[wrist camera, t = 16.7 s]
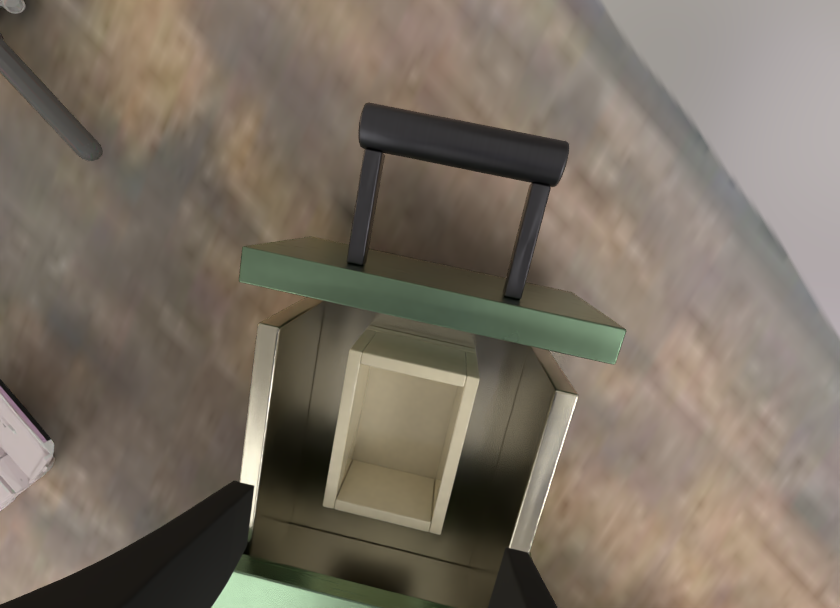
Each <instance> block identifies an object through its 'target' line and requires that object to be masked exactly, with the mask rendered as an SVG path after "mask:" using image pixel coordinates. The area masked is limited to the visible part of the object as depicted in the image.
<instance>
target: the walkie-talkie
mask: <svg viewBox="0 0 840 608" xmlns="http://www.w3.org/2000/svg"><path fill="white" fill-rule="evenodd" d="M0 8H4V9H6V10H7V11H8V12H11V13H13V14H17V13H21V12H22V11H23V10H24V9H25V3H24V1H23V0H0ZM0 72H1V74H2V75H3V76H4V77H5V78H6V79H7V80H8V81H9V82H10V83H11V84H12V85H13V86H14V87H15V88H16V90H17V91H18V92H19V93H20V94H21V95H22V96H23V97H24V98H25V99H26V100H27V101H28V102H29V103H30V104H31V106H32V107H33V108H34V109H35V110H36V111H37V112H38V113H39V114H40V115H41V116H42V117H43V118H44V119H45V120H46V122H47V123H48V124H49V125H50V126H51V127H52V128H53V129H54V130H55V131H56V132H57V133H58V134H59V135H60V136H61V138H62V139H63V140H64V141H65V142H66V143H67V144H68V145H69V146H70V147H71V148H72V149H73V150H74V151H75V152H76V154H77V155H78V156H79V157H81V158H82V159H85V160H88V161H94V160H97V159H99V158H100V157H101V155H102V148H101V145H100V144H99V143H98V142H97V141H96V140H95V139H94V138H93V137H92V135H91V134H90V133H89V132H88V131H87V130H86V129H85V128H84V127H83V126H82V125H81V124H80V123H79V121H78V120H77V119H76V118H75V117H74V116H73V115H72V114H71V113H70V112H69V111H68V110H67V109H66V107H65V106H64V105H63V104H62V103H61V102H60V101H59V100H58V99H57V98H56V97H55V96H54V95H53V93H52V92H51V91H50V90H49V89H48V88H47V87H46V86H45V85H44V84H43V83H42V82H41V81H40V79H39V78H38V77H37V76H36V75H35V74H34V73H33V72H32V71H31V70H30V69H29V68H28V67H27V66H26V64H25V63H24V62H23V61H22V60H21V59H20V58H19V57H18V56H17V55H16V54H15V53H14V52H13V50H12V49H11V48H10V47H9V46H8V45H7V44H6V43H5V42H4V41H3V37H2V34H1V33H0Z"/></svg>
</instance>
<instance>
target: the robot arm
mask: <svg viewBox="0 0 840 608" xmlns="http://www.w3.org/2000/svg"><path fill="white" fill-rule="evenodd" d="M253 494H254V485H249V484H245V483H241V482H237V481H233V482H231V483H230V484H228V485H226V486H225V487H223V488H222V489H220V490H218V491H217V492H215V493H214V494H212V495H211V496H209V497H208V498H206V499H205V500H203V501H202V502H200V503H198V504H197V505H195V506H194V507H192V508H191V509H189V510H188V511H186V512H184V513H183V514H181V515H180V516H178V517H176V518H175V519H173V520H172V521H170V522H168V523H167V524H165V525H163V526H162V527H160V528H159V529H157V530H155V531H153V532H152V533H150V534H148V535H146V536H145V537H143V538H141V539H139V540H138V541H136V542H134V543H132V544H131V545H129V546H127V547H125V548H124V549H122V550H120V551H118V552H116V553H114V554H112V555H111V556H109V557H107V558H105V559H103V560H101V561H99V562H97V563H95V564H93V565H91V566H88V567H86V568H84V569H82V570H80V571H78V572H76V573H74V574H72V575H70V576H67V577H65V578H63V579H61V580H58V581H56V582H54V583H51V584H49V585H47V586H44V587H42V588H39V589H37V590H35V591H32V592H30V593H28V594H25V595H23V596H21V597H18V598H16V599H13V600H11V601H8V602H6V603H3V604H1V605H0V608H211V607H212V606H213V604H214V603H215V601H216V600H217V598H218V597H219V595H220V594H221V592H222V591H223V589H224V587H225V586H226V584H227V583H228V581H229V579H230V577H231V575H232V573H233V572H234V570H235V568H236V566H237V564H238V562H239V560H240V558H241V556H242V554H243V552H244V550H245V548H246V547H247V541H248V533H249V525H250V518H251V510H252V502H253ZM488 608H558V607H557V606H556V604H555V602H554V600H553V598H552V596H551V595H550V593H549V591H548V589H547V587H546V585H545V583H544V582H543V580H542V578H541V576H540V574H539V572H538V570H537V568H536V566H535V565H534V563H533V561H532V559H531V557H530V555H529V554H528V552H524V551H520V550H516V549H512V548H508V547H506V548H505V551H504V555H503V558H502V561H501V565H500V568H499V571H498V575H497V578H496V582H495V585H494V588H493V592H492V595H491V598H490V602H489V605H488Z"/></svg>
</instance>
